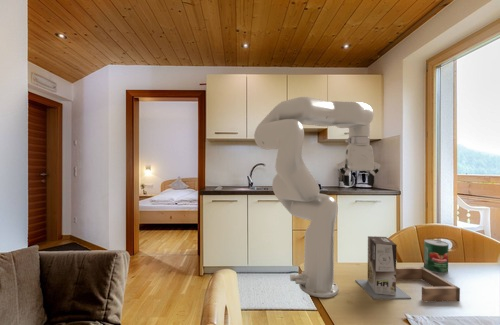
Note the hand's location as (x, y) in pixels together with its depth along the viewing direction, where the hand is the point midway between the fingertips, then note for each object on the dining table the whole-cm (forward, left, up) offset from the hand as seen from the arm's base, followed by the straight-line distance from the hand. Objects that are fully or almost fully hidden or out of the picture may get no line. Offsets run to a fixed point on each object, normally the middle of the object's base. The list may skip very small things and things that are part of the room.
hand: (358, 185), depth 99 cm
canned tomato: (+32, 0, -34) cm, 46 cm away
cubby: (+15, -15, -33) cm, 39 cm away
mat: (+1, -15, -33) cm, 37 cm away
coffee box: (+1, -15, -33) cm, 36 cm away
